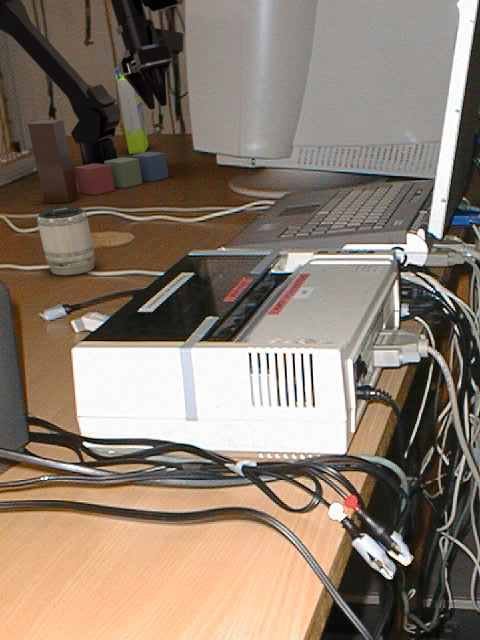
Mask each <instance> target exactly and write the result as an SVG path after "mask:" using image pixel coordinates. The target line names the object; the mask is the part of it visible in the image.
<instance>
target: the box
mask: <svg viewBox="0 0 480 640" xmlns="http://www.w3.org/2000/svg"><path fill="white" fill-rule="evenodd" d="M113 74H114V78H115V84H116V88H117V95H118V101H119V108H120V114H121V118H122V123H123V129H124V135H125V139H126V140H125V141H126V145H127V151H128V155H136V154H140V153H145V152H147V149H148V147H149V141H148V134H147V127H146V121H145V115H144V108H143V102H142V99H141V97H140V96H139V95H138V94H137V92H136V91H135V90H134V89H133V87H132V86H131V85H130V84H129V82H128V81H127V80H126V79H125V78H124V77H123V76H124V75H123V74H120V71H119V67H118V66H117V67H115V68H114V69H113Z"/></svg>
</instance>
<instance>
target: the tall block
mask: <svg viewBox="0 0 480 640" xmlns="http://www.w3.org/2000/svg"><path fill="white" fill-rule="evenodd" d="M27 129H28V133H29V137H30V143H31V146H32V151H33V154H34V155H33V156H34V161H35V165H36V170H37V174H38V178H39V183H40V187H41V192H42V196H43V201H44V204H70V203H72V202H73V201H74V200H77V199H78V198H79V192H78V188H77V187H78V186H77V183H76V178H75V177H76V176H75V173H74V172H75V171H74V168H73V163H72V158H71V153H70V147H69V142H68V138H67V133H66V128H65V123H64V119H41V120H40V119H39V120H35V121H32V122H29V123H27Z"/></svg>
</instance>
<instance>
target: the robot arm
mask: <svg viewBox="0 0 480 640" xmlns="http://www.w3.org/2000/svg"><path fill="white" fill-rule="evenodd" d="M109 2H110V5H111V9H112V12H113V16H114V18H115V21H116V26H117V27H116V28H115V31H116V34H117V36H118V35H120V38H121V41H122V45H123V48H124V52H123V53H122V54H123V56H122V57H120V58H119V61H118V63H117V67H119V71H120V74H122V76H123V77H124V78H125V79H126V80H127V81H128V82H129V84H130V85H131V86H132V87H133V89H134V90H135V91H136V92H137V94H138V95H139V96H140V97H141V101H143V103H144V104H145V106H147V108H148V109H149V110H155V109H156V103H155V100H156V101H157V102H158V104H159V105H160V106H161V107H165V106H167V105H168V100H167V83H166V82H167V81H166V72H167V71H168V68H169V67H170V65H171V64H172V60H170V59H173V58H174V56H173V54H174V55H180V54H181V53H184V45H185V44H184V41H185V39H184V37H185V34H184V33H183V32H179V31H176V30H175V31H174V30H170V29H164V28H157V27H156V26H155V23H154V21H153V20H152V19H151V18H150V19H148V16H147V13H146V9H145V8H149V10H150V11H151V12H153V13H154V12H158V11H161V10H165V9H170V8H173V7H177V6H181V5H182V4H183V3H184V0H109ZM0 31H2V32H3V33H5V34H7V35H9V36H10V37H11V38H13V39H14V41H16V43H17V44H18V45H19V47H20V48H22V49H23V50H24V52H26V54H27V55H28V56H29V57H30V58H31V59H32V61H34V63H36V65H37V66H38V67H39V68H40V69H41V70H42V72H44V73H45V75H47V77H48V78H49V80H51V81H52V82H53V83H54V84H55V85H56V87H57V88H58V89H59V90H60V91H61V92H62V94H64V95H65V96H66V98H67V100H68V101H69V105H70V106H71V109H72V111H73V114H74V116H75V117H76V118H77V120H78V121H77V123H76V124H75V126H74V127H73V128H72V130H71V131H70V135H71V137H72V138H73V141H74V142H75V144H78V145H79V151H80V156H81V162H82V166H84V165H88V164H93V163H96V164H104V161H107V160H112V159H117V158H118V153H117V148H116V147H115V143H114V137H115V136H116V135H115V134H116V130H117V127H118V126H119V124H120V123H121V109H120V107H119V105H117V104H116V103H117V101H118V100H117V99H116V98H114V97H113V96H111V95H110V94H109V92H108V90H107V89H106V87H105V86H104V85H103V84H97V85H93V86H92V85H91V84H89V83H87V81H85V80H84V79H83V78H82V77H81V75H79V73H78V72H77V71H76V70H75V68H73V66H72V65H71V64H70V63H69V62H68V60H66V58H64V56H63V55H62V54H61V53H60V52H59V51H58V50H57V48H55V46H54V45H53V44H52V43H51V42H50V41H49V40H48V39H47V38H46V36H44V34H43V33H42V32H41V31H40V30H39V28H37V26H36V25H35V24H34V23H33V21H31V19H30V16H29V13H28V11H27V9H26V6H25V3H23V2H22V0H0Z"/></svg>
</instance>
